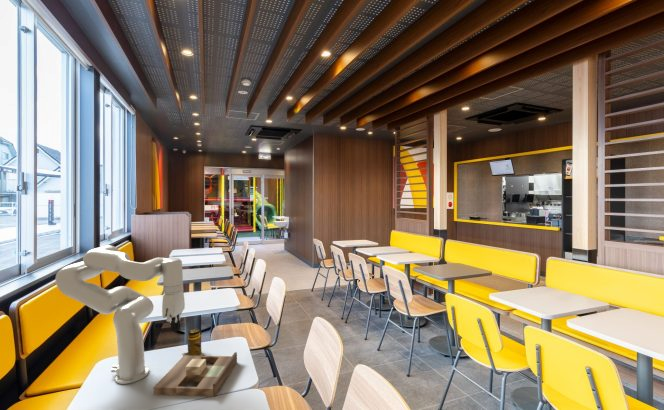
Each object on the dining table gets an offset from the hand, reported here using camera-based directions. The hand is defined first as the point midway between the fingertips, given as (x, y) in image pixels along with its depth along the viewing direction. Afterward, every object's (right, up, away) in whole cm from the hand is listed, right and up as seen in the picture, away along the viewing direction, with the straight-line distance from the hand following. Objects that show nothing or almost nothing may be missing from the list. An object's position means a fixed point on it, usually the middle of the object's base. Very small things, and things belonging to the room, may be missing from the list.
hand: (175, 330), depth 140 cm
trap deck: (+9, -21, +1) cm, 23 cm away
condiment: (-1, -20, +19) cm, 28 cm away
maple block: (+8, -18, +1) cm, 19 cm away
